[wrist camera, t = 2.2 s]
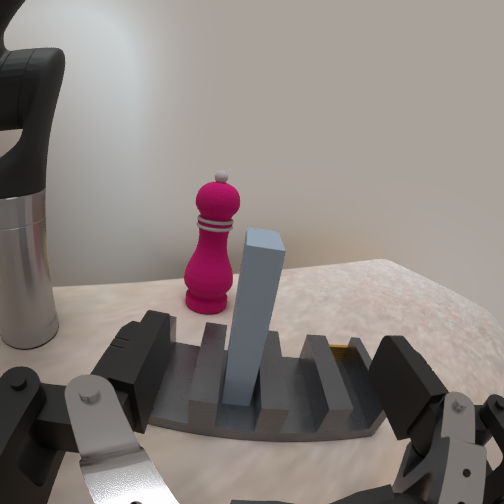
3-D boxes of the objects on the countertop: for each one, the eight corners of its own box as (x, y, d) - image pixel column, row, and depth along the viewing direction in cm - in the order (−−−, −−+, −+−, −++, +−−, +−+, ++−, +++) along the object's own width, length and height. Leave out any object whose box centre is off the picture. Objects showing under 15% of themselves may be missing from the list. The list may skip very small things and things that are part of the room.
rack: (140, 421, 19) (133, 386, 18) (167, 348, 30) (167, 313, 28) (372, 435, 20) (395, 404, 19) (345, 367, 31) (358, 335, 30)
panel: (221, 403, 22) (246, 245, 17) (225, 368, 27) (247, 226, 22) (249, 406, 22) (285, 251, 17) (249, 371, 27) (277, 231, 22)
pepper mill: (223, 292, 46) (240, 172, 40) (234, 316, 40) (256, 176, 33) (180, 292, 44) (192, 166, 37) (185, 316, 37) (199, 169, 31)
